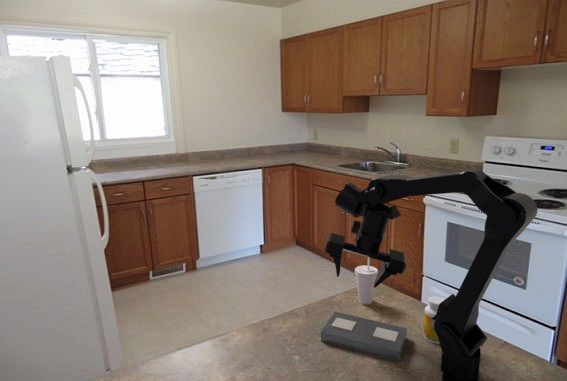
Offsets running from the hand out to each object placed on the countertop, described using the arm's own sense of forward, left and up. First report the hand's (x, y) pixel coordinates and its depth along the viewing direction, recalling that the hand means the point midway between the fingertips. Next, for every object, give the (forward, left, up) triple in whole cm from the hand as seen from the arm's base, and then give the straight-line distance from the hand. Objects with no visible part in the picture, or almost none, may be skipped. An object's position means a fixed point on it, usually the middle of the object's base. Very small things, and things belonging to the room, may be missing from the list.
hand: (355, 281), depth 93 cm
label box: (-4, +5, -12) cm, 13 cm away
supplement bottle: (-19, -3, -12) cm, 22 cm away
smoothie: (+1, -13, -12) cm, 18 cm away
